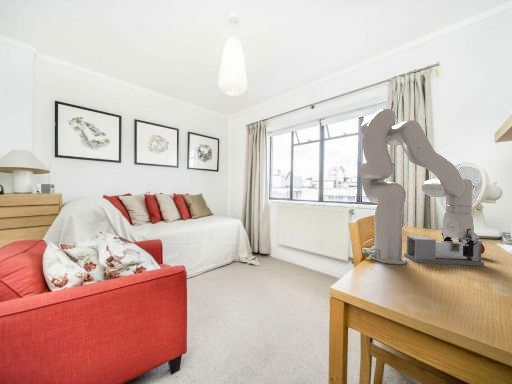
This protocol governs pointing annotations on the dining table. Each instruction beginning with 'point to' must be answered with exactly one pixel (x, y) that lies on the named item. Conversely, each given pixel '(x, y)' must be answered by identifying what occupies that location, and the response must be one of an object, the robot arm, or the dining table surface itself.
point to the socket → (476, 251)
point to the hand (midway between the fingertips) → (457, 252)
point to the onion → (482, 249)
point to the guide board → (430, 252)
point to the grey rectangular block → (450, 250)
